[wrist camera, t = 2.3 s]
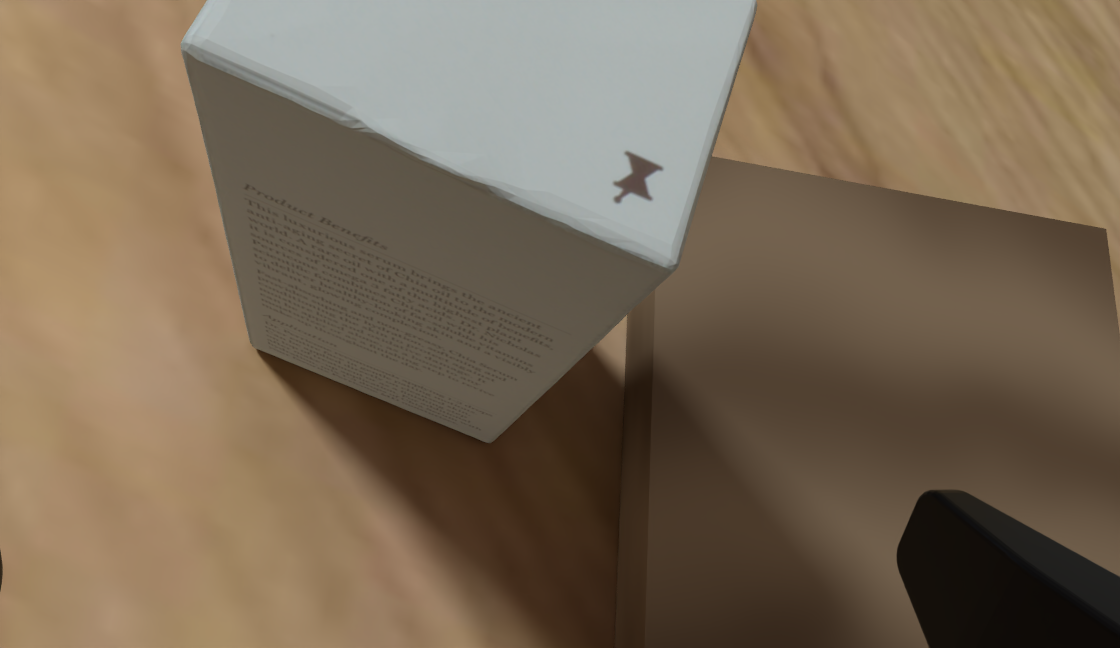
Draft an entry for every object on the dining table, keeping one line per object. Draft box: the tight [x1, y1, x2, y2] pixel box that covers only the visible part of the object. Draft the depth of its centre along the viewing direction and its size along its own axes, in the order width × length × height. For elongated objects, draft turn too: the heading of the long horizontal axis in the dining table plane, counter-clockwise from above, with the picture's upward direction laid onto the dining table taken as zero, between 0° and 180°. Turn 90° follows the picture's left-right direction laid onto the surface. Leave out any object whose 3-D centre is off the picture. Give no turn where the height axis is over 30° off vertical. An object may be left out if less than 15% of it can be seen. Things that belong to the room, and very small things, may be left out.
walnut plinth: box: [615, 156, 1120, 648], centre depth 23 cm, size 13×13×2 cm
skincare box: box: [181, 0, 757, 443], centre depth 16 cm, size 6×4×12 cm
